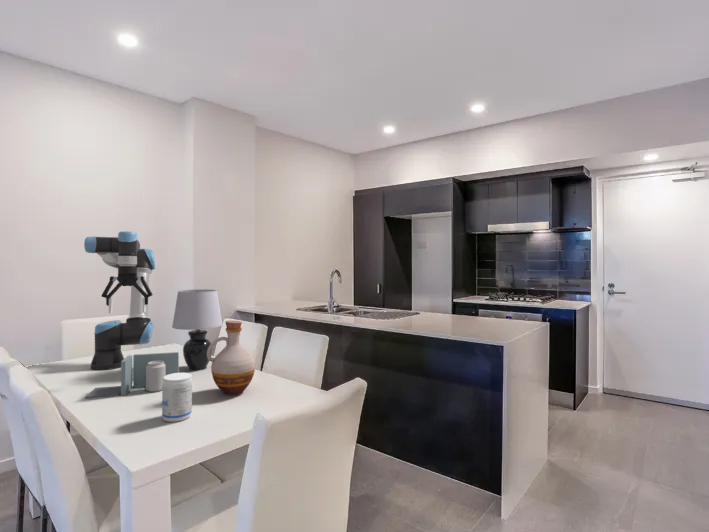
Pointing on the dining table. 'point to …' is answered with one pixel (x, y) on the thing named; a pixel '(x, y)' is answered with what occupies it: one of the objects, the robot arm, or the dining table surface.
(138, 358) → the screen
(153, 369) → the can
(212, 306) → the lamp
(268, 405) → the dining table surface
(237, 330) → the jug
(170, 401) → the supplement tub
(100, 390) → the coaster
